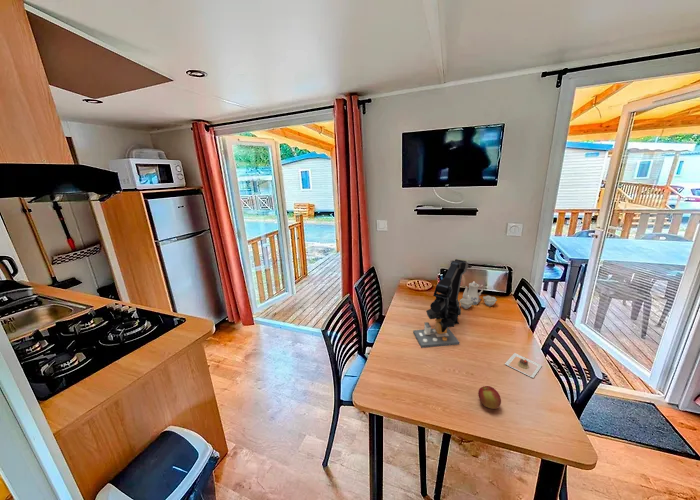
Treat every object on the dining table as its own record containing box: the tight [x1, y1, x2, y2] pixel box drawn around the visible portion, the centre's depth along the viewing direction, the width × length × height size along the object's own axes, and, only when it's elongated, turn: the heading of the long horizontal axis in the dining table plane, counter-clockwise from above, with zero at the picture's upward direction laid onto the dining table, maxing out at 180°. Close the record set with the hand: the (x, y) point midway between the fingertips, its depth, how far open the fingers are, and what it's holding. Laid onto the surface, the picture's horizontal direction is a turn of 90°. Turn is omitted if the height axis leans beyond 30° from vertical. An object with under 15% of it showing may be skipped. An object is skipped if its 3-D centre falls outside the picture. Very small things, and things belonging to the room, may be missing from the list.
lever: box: [423, 321, 432, 335], centre depth 150 cm, size 3×4×6 cm
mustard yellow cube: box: [434, 318, 447, 334], centre depth 151 cm, size 5×5×6 cm
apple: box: [477, 385, 502, 410], centre depth 106 cm, size 8×8×8 cm
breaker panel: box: [412, 327, 460, 349], centre depth 149 cm, size 21×14×2 cm, turn 95°
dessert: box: [504, 352, 543, 379], centre depth 127 cm, size 12×12×5 cm
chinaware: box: [458, 280, 498, 310], centre depth 182 cm, size 28×17×17 cm, turn 104°
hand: (440, 329), depth 151 cm, fingers closed on mustard yellow cube, 5 cm apart
